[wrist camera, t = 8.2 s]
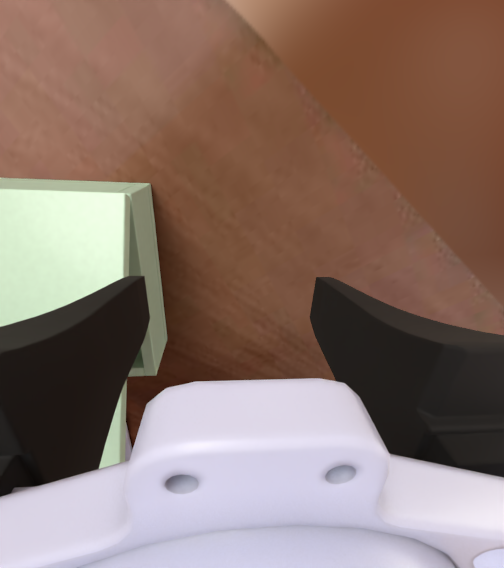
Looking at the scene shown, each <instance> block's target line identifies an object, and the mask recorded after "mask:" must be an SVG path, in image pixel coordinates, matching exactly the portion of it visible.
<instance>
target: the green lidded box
mask: <svg viewBox="0 0 504 568" xmlns="http://www.w3.org/2000/svg"><path fill="white" fill-rule="evenodd" d="M0 189H27V190H56V191H85V192H114V193H126V194H127V195H128V196H129V197H130V240H129V276H145V284H146V291H147V298H148V306H149V313H150V321H149V325H148V329H147V332H146V336H145V339H144V341H143V344H142V346H141V348H140V350H139V353H138V355H137V357H136V359H135V362H134V364H133V366H132V368H131V370H130V373H129V375H128V376H145V375H146V376H156V375H157V371H158V368H159V365H160V362H161V358H162V355H163V352H164V348H165V345H166V342H167V330H166V321H165V312H164V302H163V293H162V284H161V275H160V265H159V256H158V247H157V238H156V228H155V219H154V210H153V201H152V192H151V184H150V183H125V182H99V181H73V180H46V179H20V178H0Z"/></svg>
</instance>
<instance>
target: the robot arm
mask: <svg viewBox="0 0 504 568" xmlns="http://www.w3.org/2000/svg"><path fill="white" fill-rule="evenodd" d="M310 320H311V323H312V327H313V330H314V334H315V336H316V339H317V341H318V343H319V345H320V347H321V350H322V352H323V354H324V356H325V358H326V360H327V362H328V364H329V366H330V368H331V370H332V373H333V375H334V377H335V379H336V381H331V380H326V379H321V378H307V379H269V380H232V381H196V382H191V383H187V384H182V385H178V386H173V387H169V388H166V389H164V390H163V391H162V392H161V393H159V394H158V395H157V396H156V397H154V398H153V399H152V400H151V401H150V402H148V403H147V404H146V408H145V411H144V414H143V417H142V421H141V424H140V427H139V431H138V434H137V437H136V440H135V444H134V447H133V450H132V446H131V441H130V437H129V432H128V428H127V424H126V442H125V462H121V463H118V464H114V465H111V466H107V467H104V468H100V469H99V466H100V462H101V458H102V455H103V451H104V447H105V443H106V440H107V437H108V433H109V430H110V426H111V423H112V419H113V416H114V413H115V410H116V407H117V404H118V400H119V397H120V394H121V391H122V389H123V386H124V384H125V381H126V379H127V377H128V375H129V373H130V370H131V368H132V366H133V364H134V362H135V359H136V357H137V355H138V353H139V350H140V348H141V346H142V344H143V341H144V339H145V336H146V332H147V329H148V325H149V321H150V313H149V306H148V298H147V291H146V284H145V276H127V277H124V278H122V279H120V280H117V281H115V282H113V283H111V284H109V285H107V286H105V287H103V288H102V289H100V290H98V291H96V292H94V293H92V294H89V295H87V296H85V297H83V298H81V299H79V300H76V301H74V302H72V303H70V304H68V305H65V306H63V307H60V308H58V309H55V310H52V311H50V312H47V313H44V314H41V315H39V316H36V317H32V318H29V319H26V320H22V321H19V322H15V323H12V324H9V325H5V326H2V327H0V568H504V335H498V334H492V333H485V332H480V331H475V330H470V329H466V328H461V327H456V326H452V325H448V324H444V323H440V322H437V321H433V320H430V319H427V318H423V317H420V316H417V315H414V314H411V313H408V312H406V311H403V310H400V309H397V308H395V307H392V306H390V305H388V304H385V303H383V302H381V301H379V300H377V299H374V298H372V297H370V296H368V295H366V294H364V293H362V292H360V291H358V290H356V289H354V288H353V287H351V286H349V285H347V284H345V283H343V282H341V281H339V280H336V279H334V278H331V277H316V283H315V289H314V295H313V301H312V307H311V313H310Z"/></svg>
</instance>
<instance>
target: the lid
mask: <svg viewBox="0 0 504 568" xmlns="http://www.w3.org/2000/svg"><path fill="white" fill-rule="evenodd" d="M129 240H130V197H129V196H128V195H127V194H126V193H114V192H85V191H56V190H27V189H0V327H2V326H5V325H9V324H12V323H15V322H19V321H22V320H26V319H29V318H32V317H36V316H39V315H41V314H44V313H47V312H50V311H52V310H55V309H58V308H60V307H63V306H65V305H68V304H70V303H72V302H74V301H76V300H79V299H81V298H83V297H85V296H87V295H89V294H92V293H94V292H96V291H98V290H100V289H102V288H103V287H105V286H107V285H109V284H111V283H113V282H115V281H117V280H120V279H122V278H124V277H127V276H129ZM126 392H127V379H126V381H125V384H124V386H123V389H122V391H121V394H120V397H119V400H118V404H117V407H116V410H115V413H114V416H113V419H112V423H111V426H110V430H109V433H108V437H107V440H106V443H105V447H104V451H103V455H102V458H101V462H100V466H99V469H100V468H104V467H107V466H111V465H114V464H118V463H121V462H125V442H126Z"/></svg>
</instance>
